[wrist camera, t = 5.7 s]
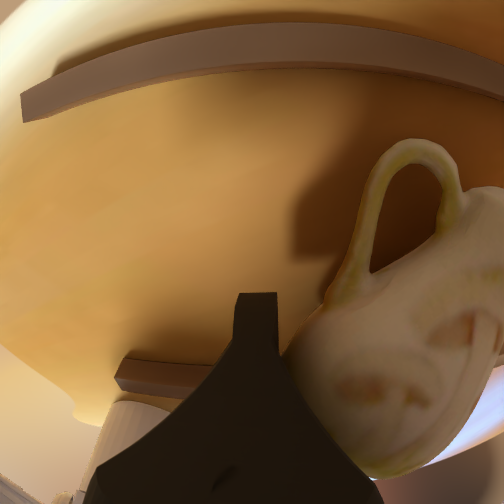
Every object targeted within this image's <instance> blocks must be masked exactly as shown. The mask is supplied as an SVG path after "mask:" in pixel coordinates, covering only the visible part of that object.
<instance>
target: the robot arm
mask: <svg viewBox="0 0 504 504" xmlns="http://www.w3.org/2000/svg"><path fill="white" fill-rule="evenodd" d="M0 504H44V503H42V502H41V501H39V500H37V499H36V498H34V497H32V496H30V495H29V494H28V493H26V492H25V491H23V489H22V488H21V487H19V486H18V485H16V484H15V483H13V482H12V481H10V480H9V479H8V478H6V477H5V476H3V475H2V474H0ZM52 504H384V502H383V499H382V497H381V495H380V493H379V491H378V489H377V487H376V485H375V483H374V482H373V481H372V480H371V479H370V478H369V477H368V476H367V475H366V474H365V473H364V472H363V471H362V470H361V469H360V468H359V467H358V466H357V465H356V464H355V463H354V462H353V461H352V460H351V459H350V458H349V457H348V456H347V454H346V453H345V452H344V451H343V450H342V449H341V448H340V446H339V445H338V444H337V443H336V442H335V441H334V439H333V438H332V437H331V436H330V434H329V433H328V432H327V430H326V429H325V428H324V426H323V425H322V424H321V422H320V421H319V420H318V418H317V417H316V416H315V414H314V413H313V411H312V410H311V409H310V407H309V406H308V404H307V403H306V401H305V399H304V398H303V396H302V395H301V393H300V391H299V390H298V388H297V386H296V385H295V383H294V381H293V380H292V378H291V376H290V374H289V372H288V370H287V368H286V366H285V364H284V362H283V360H282V358H281V356H280V354H279V337H278V302H277V292H266V293H239V296H238V299H237V302H236V305H235V311H234V324H233V338H232V340H231V342H230V343H229V345H228V346H227V348H226V349H225V350H224V352H223V353H222V355H221V356H220V358H219V359H218V361H217V362H216V363H215V365H214V366H213V367H212V369H211V370H210V371H209V373H208V374H207V375H206V376H205V377H204V379H203V380H202V381H201V382H200V383H199V384H198V386H197V387H196V388H195V389H194V390H193V391H192V392H191V393H190V394H189V395H188V396H187V397H186V398H185V400H184V401H183V402H182V403H181V404H180V405H179V406H178V407H177V408H176V409H175V410H173V411H172V412H171V413H170V412H168V411H166V410H163V409H160V408H158V407H155V406H152V405H148V404H145V403H140V402H135V401H118V402H115V403H113V404H112V406H111V408H110V410H109V412H108V415H107V417H106V420H105V422H104V424H103V427H102V429H101V432H100V435H99V437H98V440H97V442H96V445H95V447H94V450H93V453H92V455H91V458H90V461H89V463H88V466H87V469H86V471H85V474H84V477H83V480H82V483H81V486H80V488H79V490H76V493H75V496H74V499H73V494H70V493H69V492H64V493H60V494H57V495H56V496H55V498H54V499H53V501H52ZM501 504H504V501H503V502H502V503H501Z"/></svg>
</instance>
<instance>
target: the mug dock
mask: <svg viewBox="0 0 504 504" xmlns="http://www.w3.org/2000/svg"><path fill="white" fill-rule="evenodd" d="M277 68H325V69H344V70H358V71H368V72H377V73H385V74H393V75H399V76H406V77H411V78H417V79H422V80H427V81H432V82H437V83H441V84H445V85H450V86H454V87H457V88H461V89H465V90H469V91H472V92H475V93H479V94H482V95H485V96H488V97H491V98H494V99H497V100H500V101H503V102H504V65H502V64H499V63H497V62H495V61H492V60H490V59H487V58H485V57H482V56H480V55H477V54H474V53H472V52H469V51H466V50H463V49H460V48H457V47H454V46H451V45H448V44H444V43H441V42H437V41H434V40H430V39H426V38H422V37H418V36H414V35H409V34H404V33H399V32H394V31H389V30H383V29H376V28H370V27H362V26H353V25H343V24H330V23H307V22H281V23H258V24H245V25H235V26H226V27H218V28H211V29H205V30H199V31H193V32H187V33H182V34H178V35H173V36H168V37H164V38H160V39H156V40H152V41H148V42H144V43H141V44H137V45H134V46H131V47H127V48H124V49H121V50H118V51H115V52H112V53H109V54H106V55H103V56H101V57H98V58H95V59H93V60H90V61H88V62H85V63H83V64H80V65H78V66H75V67H73V68H71V69H68V70H66V71H64V72H62V73H60V74H57V75H55V76H53V77H51V78H49V79H47V80H45V81H43V82H41V83H39V84H37V85H35V86H34V87H32V88H30V89H28V90H26V91H24V92H23V93H21V94H20V96H21V108H22V117H23V123H26V122H30V121H34V120H39V119H44V118H48V117H50V116H53V115H55V114H58V113H60V112H63V111H65V110H68V109H71V108H74V107H76V106H79V105H82V104H85V103H88V102H91V101H94V100H97V99H100V98H103V97H107V96H110V95H113V94H117V93H120V92H124V91H128V90H132V89H136V88H140V87H144V86H148V85H152V84H157V83H162V82H167V81H172V80H177V79H182V78H188V77H194V76H201V75H208V74H215V73H224V72H233V71H244V70H257V69H277ZM501 365H504V342H503V345H502V348H501V350H500V353H499V355H498V358H497V360H496V363H495V365H494V368H496V367H499V366H501ZM212 367H213V366H202V365H186V364H173V363H161V362H151V361H142V360H134V359H126V358H123V360H122V362H121V364H120V366H119V368H118V370H117V372H116V374H115V376H114V378H115V380H116V382H117V383H118V385H119V386H120V388H121V390H123V391H128V392H134V393H140V394H147V395H153V396H161V397H168V398H177V399H185V398H186V397H187V396H188V395H189V394H190V393H191V392H192V391H193V390H194V389H195V388H196V387H197V386H198V384H199V383H200V382H201V381H202V380H203V379H204V377H205V376H206V375H207V374H208V373H209V371H210V370H211V369H212Z"/></svg>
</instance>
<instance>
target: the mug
mask: <svg viewBox="0 0 504 504" xmlns="http://www.w3.org/2000/svg"><path fill="white" fill-rule="evenodd" d="M408 164H420V165H422V166H424V167H426V168H428V169H429V170H430V171H431V172H432V173H433V174H434V175H435V176H436V178H437V179H438V181H439V183H440V185H441V188H442V199H441V202H440V205H439V208H438V211H437V214H436V229H435V233H434V234H433V235H432V236H431V237H430V238H428V239H427V240H426V241H425V242H424V243H423V244H421V245H420V246H419V247H417V248H416V249H414V250H413V251H411V252H410V253H408V254H407V255H405V256H403V257H402V258H400V259H398V260H396V261H394V262H393V263H391V264H389V265H387V266H386V267H384V268H382V269H380V270H378V271H377V272H375V273H373V274H372V273H370V271H369V266H370V257H371V254H372V249H373V242H374V237H375V232H376V227H377V222H378V217H379V213H380V210H381V207H382V203H383V198H384V195H385V192H386V189H387V187H388V185H389V183H390V181H391V178H392V177H393V176H394V175H395V173H396V172H397V171H399V170H400V169H402V168H403V167H405V166H406V165H408ZM503 342H504V189H503V188H500V187H496V186H485V187H477V188H471V189H469V190H467V191H466V192H463V191H462V188H461V185H460V180H459V174H458V168H457V164H456V163H455V161H454V160H453V158H452V157H451V156H450V155H449V153H448V152H447V151H446V150H445V149H444V148H443V147H442V146H441V145H439V144H437V143H434V142H432V141H429V140H426V139H413V138H409V139H406V140H402V141H399V142H397V143H396V144H394V145H393V146H392V147H391V148H389V149H388V150H387V151H386V152H385V153H384V154H382V155H381V157H380V158H379V160H378V161H377V163H376V164H375V166H374V167H373V169H372V170H371V172H370V174H369V176H368V178H367V181H366V184H365V186H364V189H363V193H362V197H361V202H360V206H359V211H358V215H357V220H356V224H355V228H354V232H353V236H352V239H351V242H350V245H349V248H348V251H347V253H346V256H345V258H344V260H343V263H342V265H341V267H340V269H339V271H338V273H337V274H336V276H335V278H334V280H333V282H332V283H331V284H330V285H329V287H328V289H327V290H326V293H325V296H324V302H323V304H322V305H321V306H319V307H318V308H317V309H316V310H315V311H314V312H313V313H311V314H310V315H309V317H308V318H307V319H306V320H305V321H304V322H303V323H302V325H301V326H300V328H299V329H298V330H297V332H296V333H295V335H294V336H293V338H292V339H291V340H290V341H289V343H288V345H287V347H286V349H285V350H284V352H283V353H282V355H281V358H282V360H283V362H284V364H285V366H286V368H287V370H288V372H289V374H290V376H291V378H292V380H293V381H294V383H295V385H296V386H297V388H298V390H299V391H300V393H301V395H302V396H303V398H304V399H305V401H306V403H307V404H308V406H309V407H310V409H311V410H312V411H313V413H314V414H315V416H316V417H317V418H318V420H319V421H320V422H321V424H322V425H323V426H324V428H325V429H326V430H327V432H328V433H329V434H330V436H331V437H332V438H333V439H334V441H335V442H336V443H337V444H338V445H339V446H340V448H341V449H342V450H343V451H344V452H345V453H346V454H347V456H348V457H349V458H350V459H351V460H352V461H353V462H354V463H355V464H356V465H357V466H358V467H359V468H360V469H361V470H362V471H363V472H364V473H365V474H366V475H367V476H368V477H370V478H374V479H391V478H396V477H400V476H403V475H406V474H408V473H410V472H412V471H414V470H416V469H418V468H420V467H422V466H424V465H425V464H427V463H429V462H430V461H431V460H432V459H434V458H435V457H436V456H437V455H439V454H440V453H441V452H442V451H443V450H444V449H445V448H446V447H447V446H448V445H449V444H450V443H451V442H452V441H453V439H454V438H455V437H456V436H457V434H458V433H459V432H460V431H461V429H462V428H463V426H464V425H465V423H466V422H467V420H468V419H469V417H470V415H471V414H472V412H473V410H474V409H475V407H476V405H477V403H478V401H479V399H480V397H481V395H482V392H483V390H484V388H485V386H486V383H487V381H488V379H489V377H490V375H491V372H492V370H493V368H494V365H495V363H496V360H497V358H498V355H499V353H500V350H501V348H502V345H503Z"/></svg>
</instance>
